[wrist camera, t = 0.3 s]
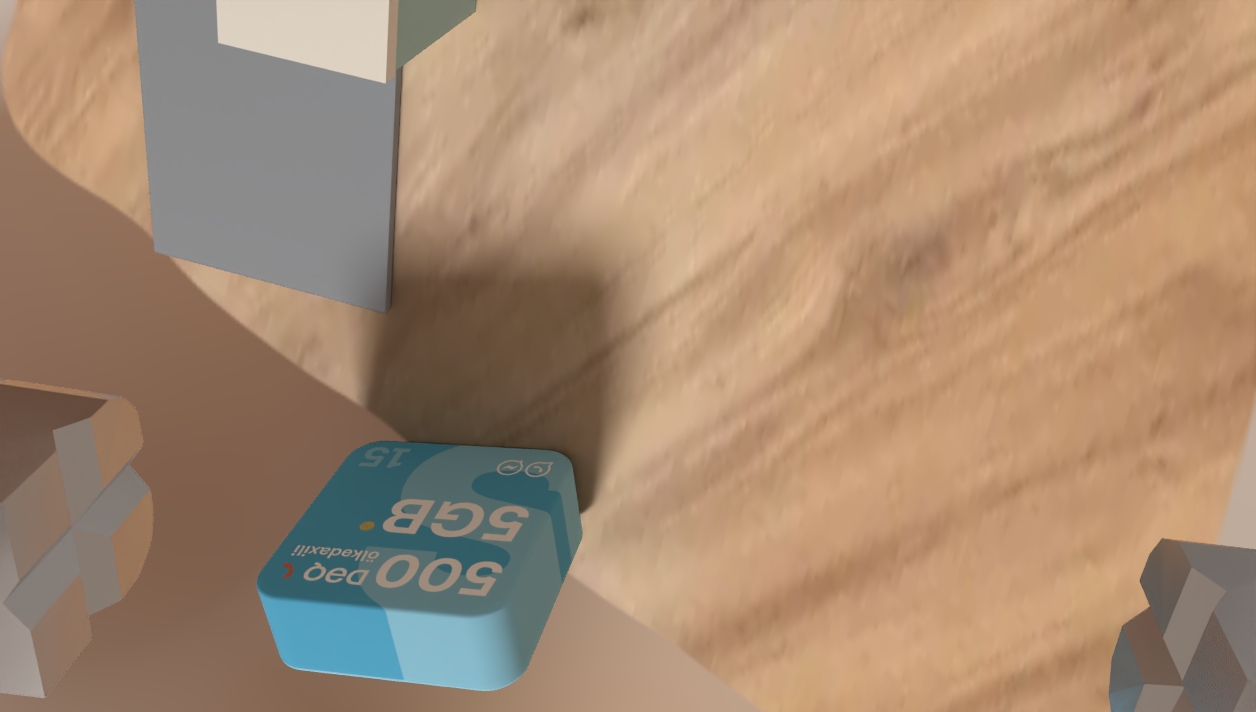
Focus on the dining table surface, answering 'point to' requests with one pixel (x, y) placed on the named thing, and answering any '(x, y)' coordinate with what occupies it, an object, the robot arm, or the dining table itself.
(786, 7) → the dining table surface
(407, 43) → the tea tin
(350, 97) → the felt mat
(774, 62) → the dining table surface
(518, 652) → the data package
